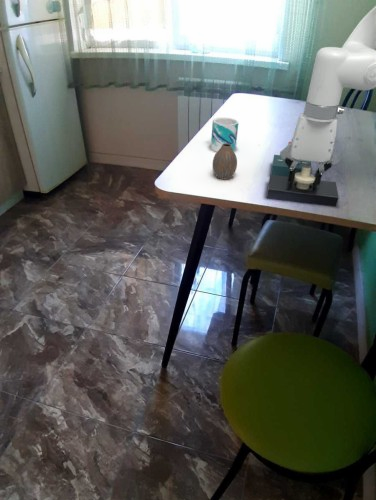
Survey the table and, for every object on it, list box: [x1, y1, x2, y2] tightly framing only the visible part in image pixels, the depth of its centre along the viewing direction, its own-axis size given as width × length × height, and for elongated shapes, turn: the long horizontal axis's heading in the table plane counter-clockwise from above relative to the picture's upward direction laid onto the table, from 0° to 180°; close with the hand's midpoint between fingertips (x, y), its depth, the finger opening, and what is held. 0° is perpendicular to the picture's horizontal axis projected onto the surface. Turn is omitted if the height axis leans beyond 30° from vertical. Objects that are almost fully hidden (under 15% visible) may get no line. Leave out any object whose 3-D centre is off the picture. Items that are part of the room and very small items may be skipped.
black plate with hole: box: [266, 174, 339, 207], centre depth 111 cm, size 18×10×2 cm, turn 79°
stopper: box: [294, 165, 315, 189], centre depth 108 cm, size 6×6×5 cm
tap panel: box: [270, 154, 313, 177], centre depth 121 cm, size 11×9×3 cm
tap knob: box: [287, 141, 300, 164], centre depth 119 cm, size 4×4×5 cm
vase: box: [212, 143, 238, 180], centre depth 115 cm, size 7×7×9 cm
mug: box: [210, 116, 239, 153], centre depth 134 cm, size 8×12×8 cm
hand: (302, 184), depth 110 cm, fingers closed on stopper, 5 cm apart
